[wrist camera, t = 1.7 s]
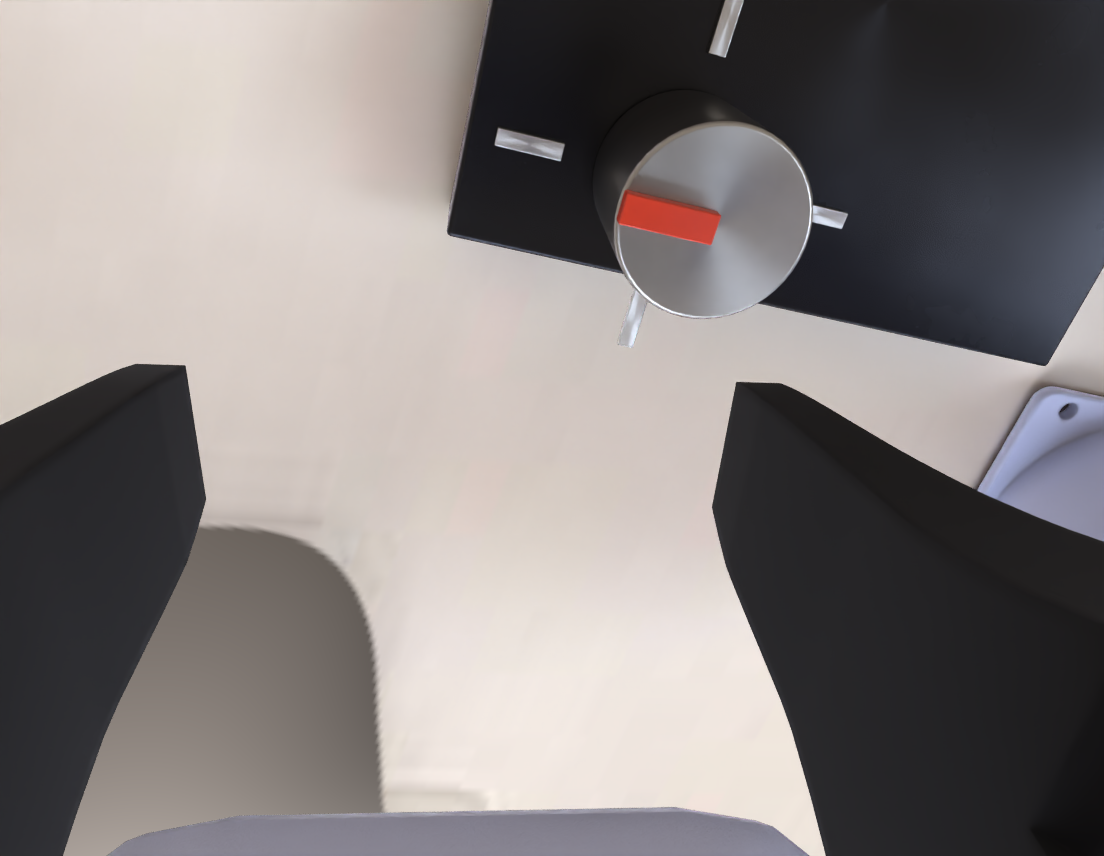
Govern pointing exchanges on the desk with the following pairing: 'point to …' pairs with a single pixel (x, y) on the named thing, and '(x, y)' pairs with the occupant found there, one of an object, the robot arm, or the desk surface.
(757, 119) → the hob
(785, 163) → the knob
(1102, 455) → the robot arm
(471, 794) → the desk surface
